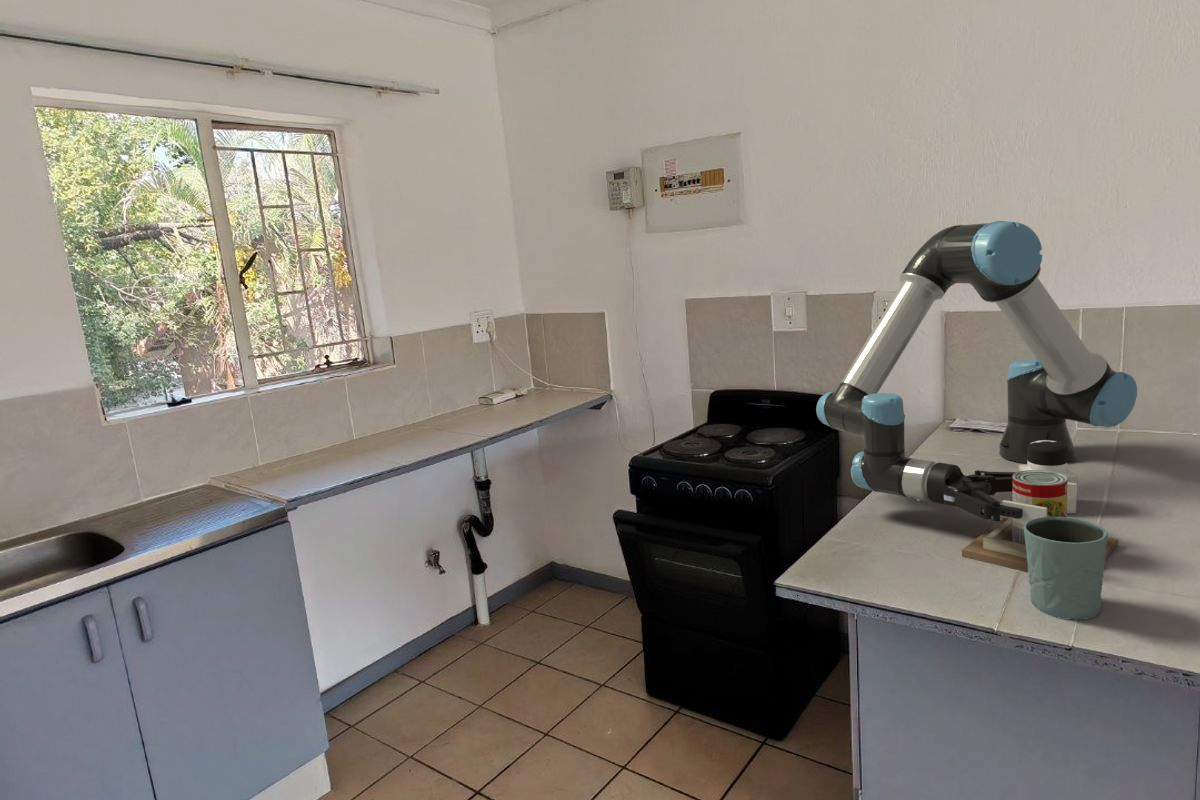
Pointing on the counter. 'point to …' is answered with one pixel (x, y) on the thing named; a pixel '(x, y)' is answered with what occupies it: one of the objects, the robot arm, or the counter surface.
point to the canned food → (1038, 496)
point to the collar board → (1008, 547)
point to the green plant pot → (1065, 565)
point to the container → (1050, 463)
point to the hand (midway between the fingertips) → (1062, 503)
